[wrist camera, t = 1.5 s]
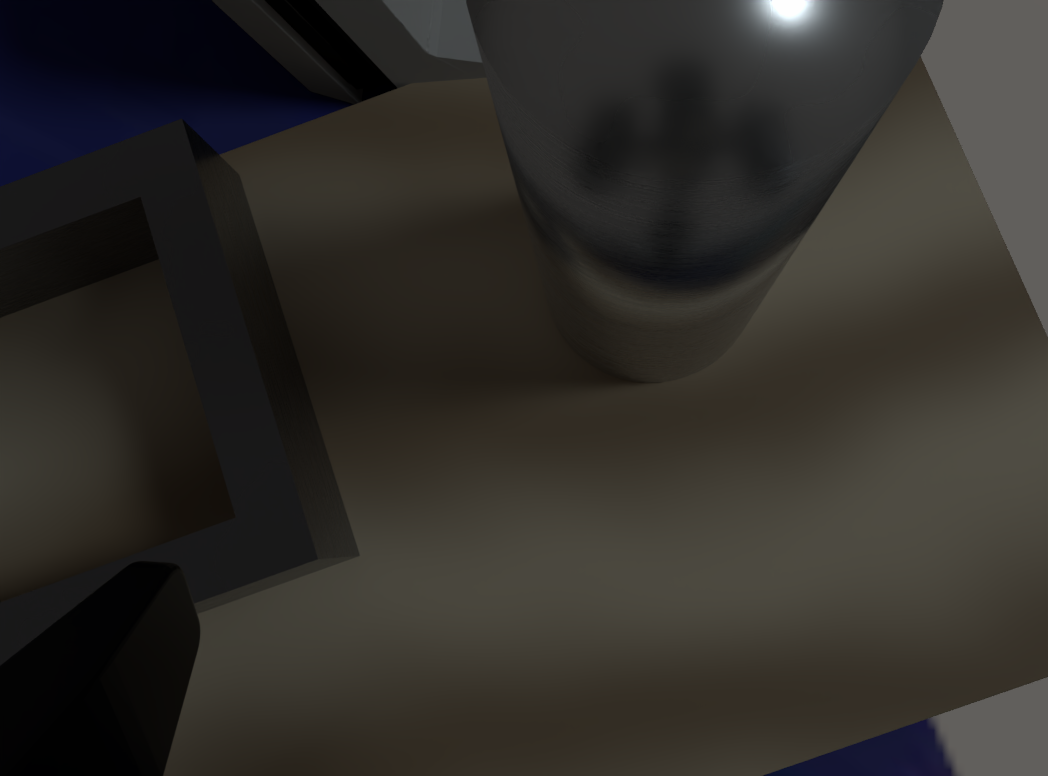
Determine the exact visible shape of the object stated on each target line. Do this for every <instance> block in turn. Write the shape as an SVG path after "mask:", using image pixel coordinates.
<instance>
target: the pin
mask: <svg viewBox="0 0 1048 776" xmlns="http://www.w3.org/2000/svg"><path fill="white" fill-rule="evenodd" d="M466 4H467V8H468V12H469V15H470V19H471V23H472V26H473V30H474V34H475V38H476V41H477V45H478V49H479V52H480V56H481V60H482V63H483V67H484V71H485V74H486V78H487V82H488V85H489V89H490V93H491V96H492V100H493V104H494V107H495V111H496V115H497V118H498V122H499V126H500V129H501V133H502V137H503V140H504V144H505V148H506V151H507V155H508V159H509V162H510V166H511V170H512V173H513V177H514V181H515V184H516V188H517V192H518V195H519V199H520V203H521V207H522V210H523V214H524V218H525V221H526V225H527V229H528V232H529V236H530V240H531V243H532V247H533V251H534V254H535V258H536V262H537V265H538V269H539V273H540V276H541V280H542V284H543V287H544V291H545V295H546V298H547V302H548V305H549V309H550V312H551V316H552V318H553V320H554V322H555V325H556V327H557V329H558V330H559V332H560V334H561V335H562V337H563V338H564V340H565V341H566V342H567V343H568V345H569V346H570V347H571V348H572V349H573V350H574V351H575V352H576V353H577V354H578V355H579V356H580V357H581V358H582V359H583V360H585V361H586V362H588V363H589V364H590V365H592V366H593V367H595V368H597V369H599V370H600V371H602V372H604V373H606V374H609V375H612V376H614V377H617V378H620V379H624V380H628V381H633V382H642V383H661V382H667V381H674V380H677V379H681V378H684V377H688V376H690V375H692V374H695V373H697V372H699V371H701V370H703V369H705V368H706V367H708V366H710V365H711V364H713V363H714V362H715V361H717V360H718V359H719V358H720V357H722V356H723V355H724V354H725V353H726V352H727V351H728V350H729V349H730V348H731V347H732V346H733V344H734V343H735V342H736V340H737V339H738V338H739V336H740V335H741V333H742V332H743V330H744V329H745V327H746V326H747V324H748V323H749V321H750V320H751V318H752V316H753V315H754V313H755V312H756V310H757V309H758V307H759V306H760V304H761V303H762V301H763V299H764V298H765V296H766V295H767V293H768V292H769V290H770V289H771V287H772V286H773V284H774V283H775V281H776V279H777V278H778V276H779V275H780V273H781V272H782V270H783V269H784V267H785V266H786V264H787V262H788V261H789V259H790V258H791V256H792V255H793V253H794V252H795V250H796V249H797V247H798V245H799V244H800V242H801V241H802V239H803V238H804V236H805V235H806V233H807V232H808V230H809V228H810V227H811V225H812V224H813V222H814V221H815V219H816V218H817V216H818V215H819V213H820V212H821V210H822V208H823V207H824V205H825V204H826V202H827V201H828V199H829V198H830V196H831V195H832V193H833V191H834V190H835V188H836V187H837V185H838V184H839V182H840V181H841V179H842V178H843V176H844V174H845V173H846V171H847V170H848V168H849V167H850V165H851V164H852V162H853V161H854V159H855V157H856V156H857V154H858V153H859V151H860V150H861V148H862V147H863V145H864V144H865V142H866V140H867V139H868V137H869V136H870V134H871V133H872V131H873V130H874V128H875V127H876V125H877V124H878V122H879V120H880V119H881V117H882V116H883V114H884V113H885V111H886V110H887V108H888V107H889V105H890V103H891V102H892V100H893V99H894V97H895V96H896V94H897V93H898V91H899V90H900V88H901V86H902V85H903V83H904V82H905V80H906V79H907V77H908V76H909V74H910V73H911V71H912V69H913V68H914V66H915V65H916V63H917V61H918V60H919V58H920V56H921V54H922V52H923V50H924V49H925V46H926V45H927V43H928V41H929V39H930V37H931V35H932V32H933V30H934V27H935V25H936V22H937V19H938V17H939V14H940V11H941V8H942V4H943V0H466Z"/></svg>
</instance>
